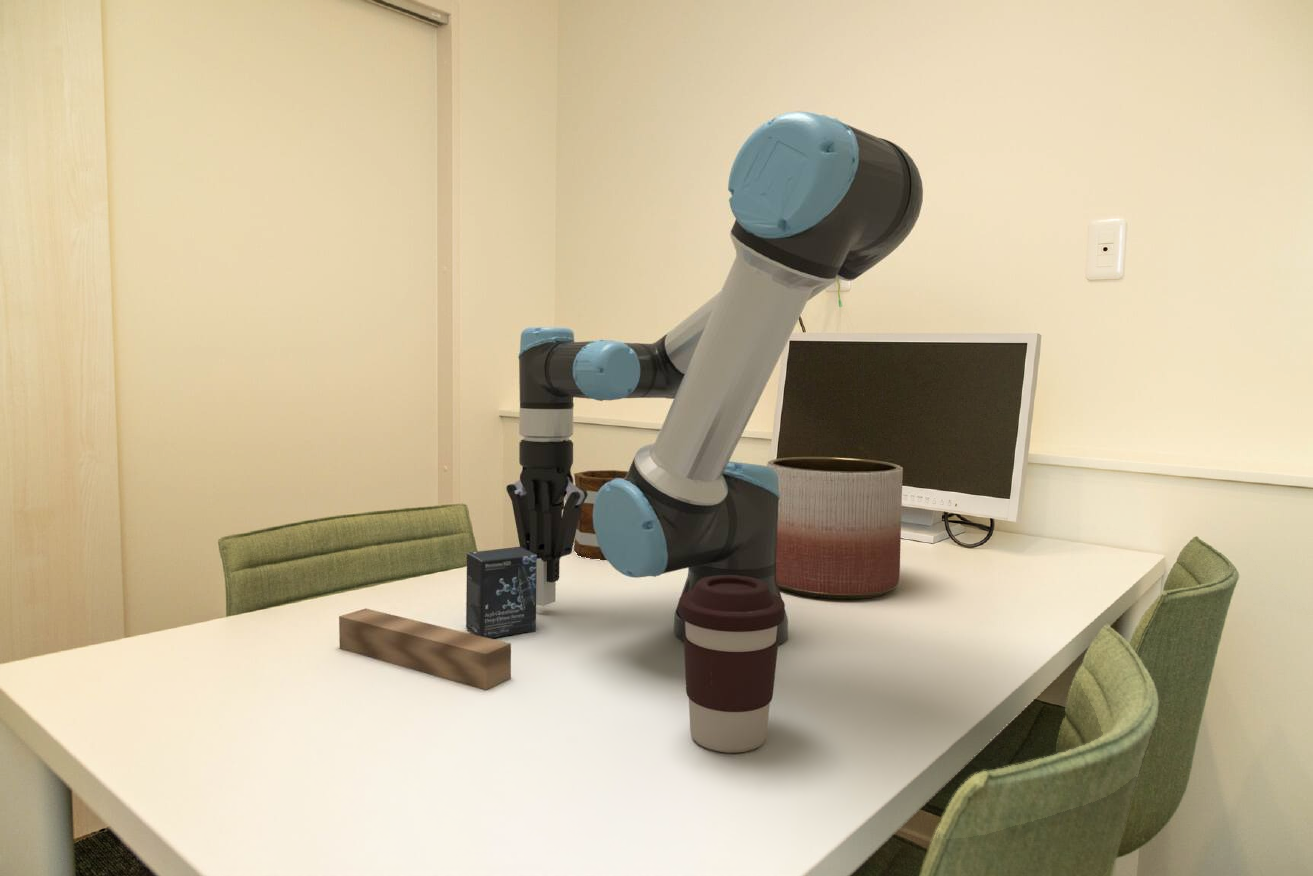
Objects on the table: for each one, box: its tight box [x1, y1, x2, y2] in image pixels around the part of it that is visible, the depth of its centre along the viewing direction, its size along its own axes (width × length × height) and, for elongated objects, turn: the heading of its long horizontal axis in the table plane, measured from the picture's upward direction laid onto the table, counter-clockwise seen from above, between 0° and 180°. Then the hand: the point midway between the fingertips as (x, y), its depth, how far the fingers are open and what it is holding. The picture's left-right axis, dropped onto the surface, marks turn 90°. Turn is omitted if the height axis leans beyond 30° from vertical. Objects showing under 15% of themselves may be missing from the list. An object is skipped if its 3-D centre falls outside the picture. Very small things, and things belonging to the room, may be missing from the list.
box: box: [465, 546, 537, 639], centre depth 106 cm, size 8×6×11 cm
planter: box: [766, 456, 904, 600], centre depth 133 cm, size 22×22×20 cm
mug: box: [573, 469, 629, 561], centre depth 150 cm, size 20×14×15 cm
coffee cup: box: [678, 575, 786, 754], centre depth 76 cm, size 10×10×15 cm
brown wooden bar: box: [338, 607, 512, 691], centre depth 95 cm, size 24×4×4 cm, turn 59°
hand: (545, 602), depth 115 cm, fingers closed
